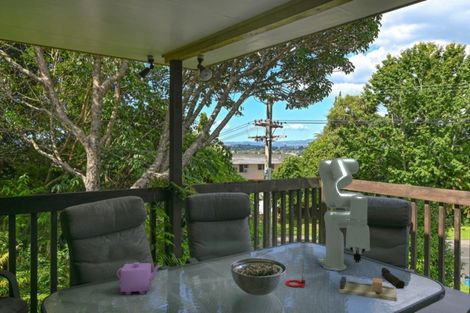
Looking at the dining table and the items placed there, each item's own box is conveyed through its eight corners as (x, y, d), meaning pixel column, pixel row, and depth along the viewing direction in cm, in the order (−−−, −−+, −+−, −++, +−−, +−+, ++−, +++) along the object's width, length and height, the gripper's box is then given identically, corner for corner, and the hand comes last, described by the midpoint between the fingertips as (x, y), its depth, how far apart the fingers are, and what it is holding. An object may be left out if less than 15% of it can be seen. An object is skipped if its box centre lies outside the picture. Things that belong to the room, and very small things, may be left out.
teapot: (114, 295, 155) (114, 267, 154) (119, 287, 165) (119, 260, 165) (161, 293, 157) (161, 265, 157) (163, 285, 167) (163, 258, 167)
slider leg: (372, 292, 156) (372, 283, 156) (372, 286, 163) (372, 277, 163) (382, 293, 155) (382, 284, 155) (382, 287, 162) (382, 278, 162)
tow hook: (284, 287, 167) (304, 288, 165) (283, 259, 167) (303, 260, 165) (286, 281, 175) (305, 282, 173) (285, 255, 175) (304, 255, 173)
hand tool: (405, 289, 165) (405, 279, 165) (396, 289, 165) (396, 279, 165) (387, 275, 184) (387, 266, 184) (379, 275, 184) (379, 266, 184)
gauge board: (338, 292, 160) (338, 282, 160) (341, 283, 171) (341, 274, 171) (396, 301, 151) (396, 290, 151) (395, 291, 162) (395, 281, 162)
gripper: (340, 222, 162) (339, 262, 163) (375, 225, 156) (374, 266, 157) (342, 219, 169) (341, 257, 170) (376, 222, 163) (374, 261, 164)
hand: (357, 261), depth 164 cm, fingers closed
